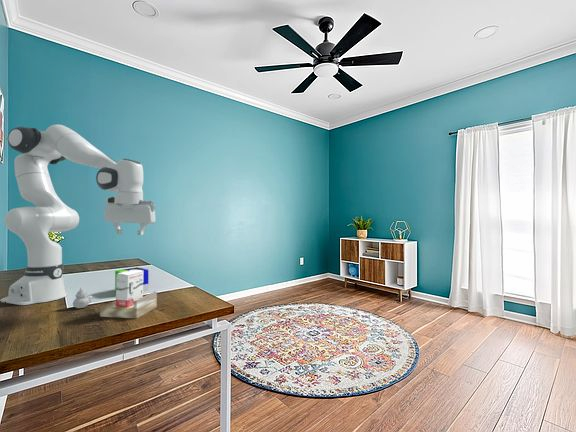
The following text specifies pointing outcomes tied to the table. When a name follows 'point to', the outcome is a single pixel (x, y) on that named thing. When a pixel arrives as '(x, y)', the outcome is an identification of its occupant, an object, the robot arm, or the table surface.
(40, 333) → the table surface
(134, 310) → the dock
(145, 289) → the puzzle toy
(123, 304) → the ink box
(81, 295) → the grey tiered figurine
